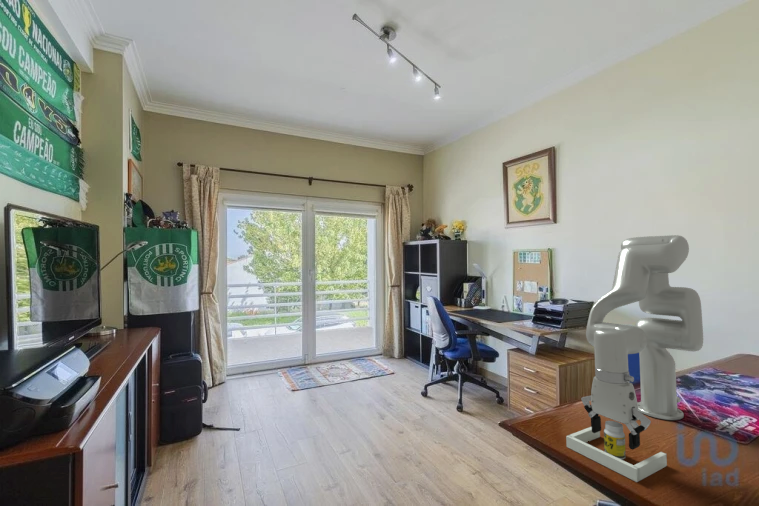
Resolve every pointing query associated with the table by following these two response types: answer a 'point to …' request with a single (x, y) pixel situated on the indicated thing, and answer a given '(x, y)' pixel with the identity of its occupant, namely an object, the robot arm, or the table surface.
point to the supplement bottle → (614, 439)
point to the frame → (624, 468)
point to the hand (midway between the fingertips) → (614, 439)
